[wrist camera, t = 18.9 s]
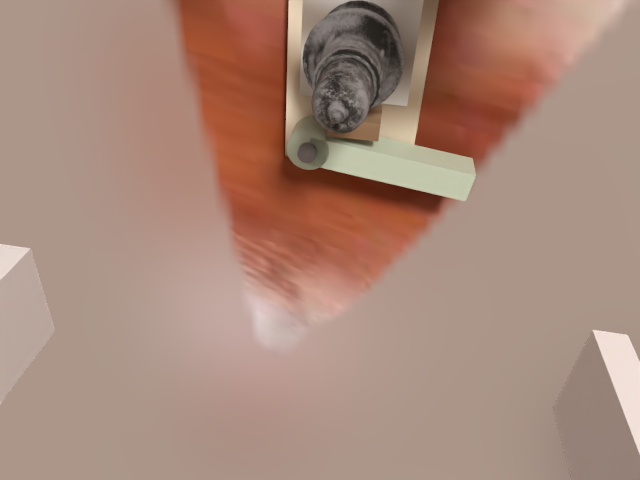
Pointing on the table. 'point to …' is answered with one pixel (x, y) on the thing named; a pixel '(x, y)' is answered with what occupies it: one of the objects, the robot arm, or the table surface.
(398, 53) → the grey stone chess piece
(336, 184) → the table surface
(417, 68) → the board
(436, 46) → the table surface
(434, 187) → the leg
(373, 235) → the table surface
